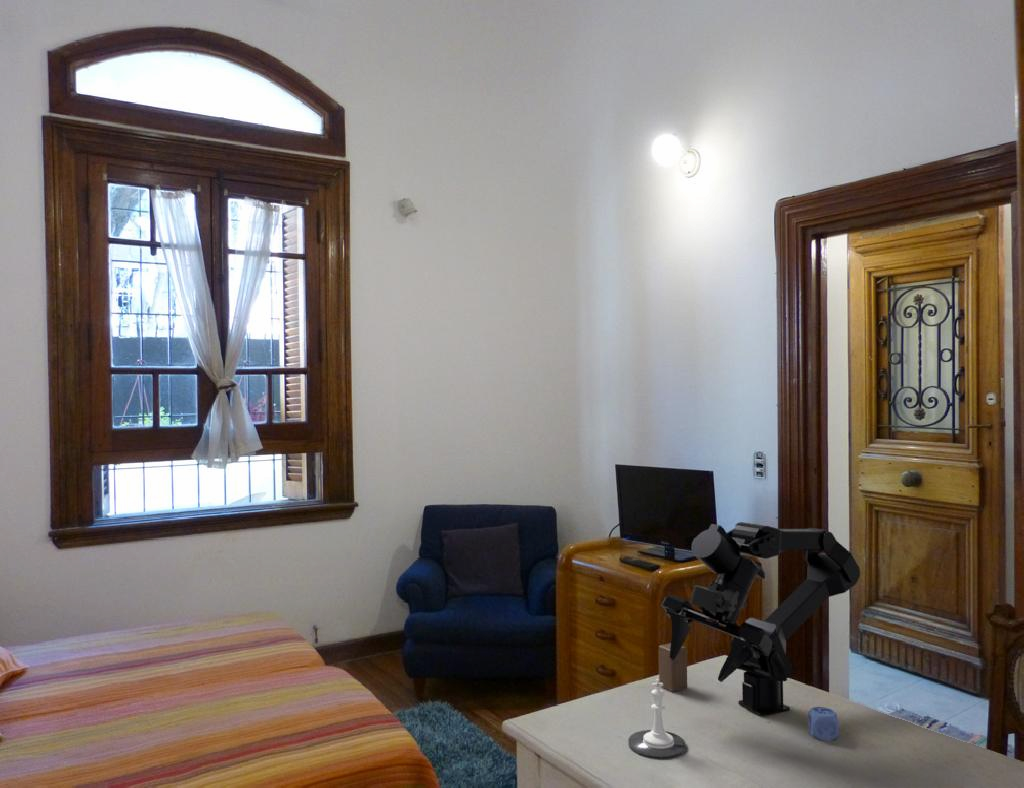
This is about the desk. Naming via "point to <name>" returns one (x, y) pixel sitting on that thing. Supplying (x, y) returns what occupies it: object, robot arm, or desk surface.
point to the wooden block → (672, 669)
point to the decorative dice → (823, 723)
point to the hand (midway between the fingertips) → (694, 669)
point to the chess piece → (658, 723)
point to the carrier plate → (644, 750)
